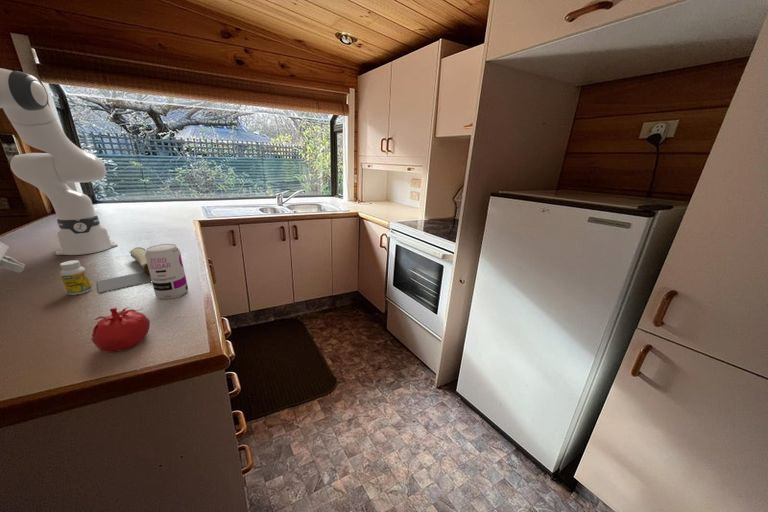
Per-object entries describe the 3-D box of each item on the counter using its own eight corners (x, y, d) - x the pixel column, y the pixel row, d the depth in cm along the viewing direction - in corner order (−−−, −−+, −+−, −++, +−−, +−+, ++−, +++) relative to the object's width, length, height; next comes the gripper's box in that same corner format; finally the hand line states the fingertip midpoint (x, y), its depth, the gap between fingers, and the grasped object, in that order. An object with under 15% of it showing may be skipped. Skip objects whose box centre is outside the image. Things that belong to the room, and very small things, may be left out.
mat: (97, 282, 96) (96, 281, 96) (163, 268, 108) (163, 267, 108) (99, 293, 89) (98, 292, 89) (170, 277, 101) (170, 276, 101)
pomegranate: (162, 331, 72) (154, 297, 69) (130, 357, 63) (120, 319, 60) (120, 330, 72) (111, 295, 69) (82, 356, 62) (69, 318, 59)
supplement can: (184, 285, 95) (175, 241, 90) (191, 294, 90) (181, 248, 85) (154, 293, 90) (141, 246, 85) (159, 303, 84) (146, 254, 79)
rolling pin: (166, 276, 100) (162, 263, 98) (145, 281, 96) (141, 267, 94) (147, 255, 121) (144, 244, 119) (129, 258, 117) (126, 246, 115)
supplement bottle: (94, 286, 93) (84, 258, 90) (90, 293, 89) (80, 263, 86) (70, 290, 90) (59, 261, 87) (65, 297, 86) (53, 267, 83)
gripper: (-56, 239, 64) (28, 270, 74) (-33, 223, 78) (36, 250, 88) (-82, 263, 63) (7, 291, 73) (-54, 242, 77) (18, 268, 86)
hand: (23, 268), depth 80 cm, fingers closed
